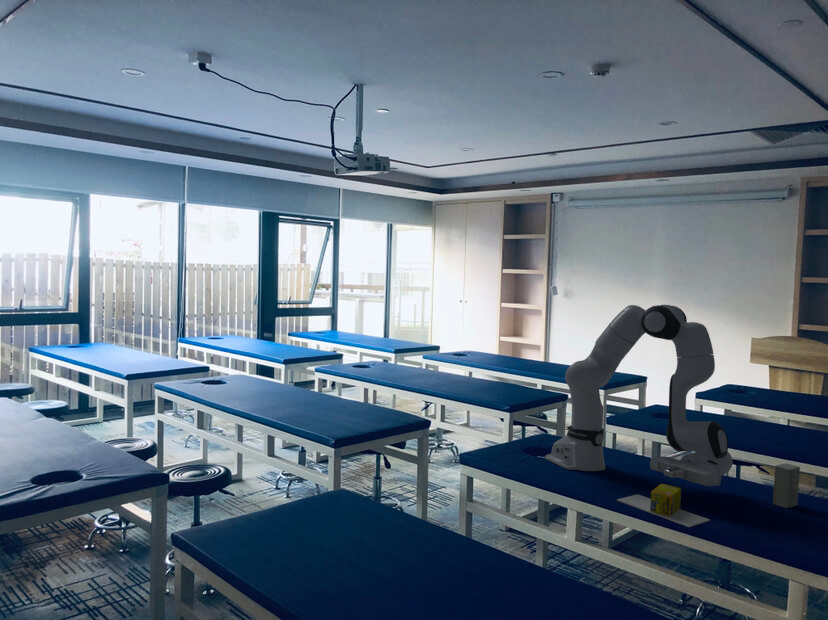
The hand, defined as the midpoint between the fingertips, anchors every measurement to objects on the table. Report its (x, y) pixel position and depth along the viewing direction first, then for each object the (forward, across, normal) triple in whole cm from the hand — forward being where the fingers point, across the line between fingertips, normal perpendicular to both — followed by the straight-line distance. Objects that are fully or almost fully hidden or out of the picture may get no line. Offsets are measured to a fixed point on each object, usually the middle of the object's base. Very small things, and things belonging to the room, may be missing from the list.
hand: (667, 473), depth 187 cm
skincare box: (-34, +18, +10) cm, 40 cm away
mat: (+5, +2, +10) cm, 11 cm away
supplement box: (-1, +1, +6) cm, 6 cm away
